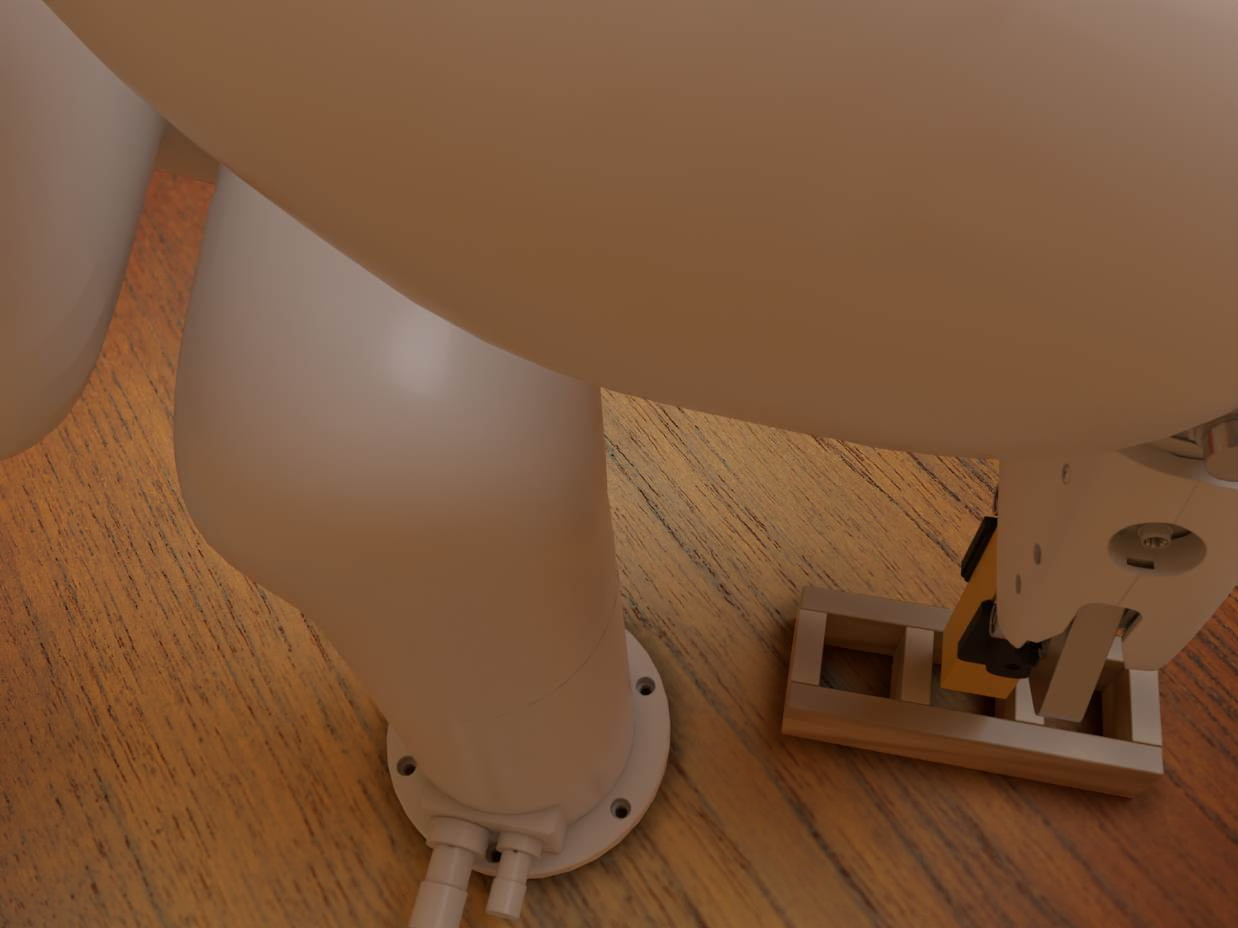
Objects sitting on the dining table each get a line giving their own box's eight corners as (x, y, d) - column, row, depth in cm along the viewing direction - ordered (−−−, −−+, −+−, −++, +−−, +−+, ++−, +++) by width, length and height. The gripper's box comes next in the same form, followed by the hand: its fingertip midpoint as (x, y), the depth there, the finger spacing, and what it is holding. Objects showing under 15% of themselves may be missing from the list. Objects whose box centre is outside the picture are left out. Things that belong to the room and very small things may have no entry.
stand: (1133, 799, 45) (1165, 775, 42) (780, 734, 48) (787, 707, 45) (1127, 672, 48) (1157, 641, 45) (796, 616, 51) (803, 583, 48)
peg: (1006, 699, 43) (1085, 591, 35) (940, 687, 43) (1003, 578, 35) (1006, 640, 44) (1084, 522, 36) (943, 630, 45) (1004, 510, 36)
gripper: (1456, 639, 20) (1111, 858, 36) (1333, 82, 28) (1097, 457, 44) (1042, 572, 21) (883, 813, 37) (1041, 54, 29) (912, 430, 45)
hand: (1001, 617), depth 40 cm, fingers closed on peg, 2 cm apart
